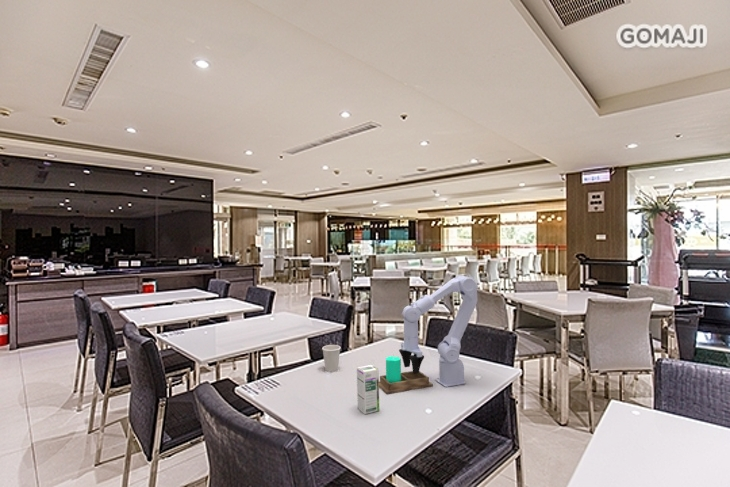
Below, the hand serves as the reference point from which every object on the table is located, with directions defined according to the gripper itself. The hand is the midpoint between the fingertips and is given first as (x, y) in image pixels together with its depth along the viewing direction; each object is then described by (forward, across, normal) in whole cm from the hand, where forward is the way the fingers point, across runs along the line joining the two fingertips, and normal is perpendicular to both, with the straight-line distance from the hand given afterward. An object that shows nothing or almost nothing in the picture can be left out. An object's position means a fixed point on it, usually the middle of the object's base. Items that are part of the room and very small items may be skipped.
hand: (411, 369), depth 149 cm
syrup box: (+6, +14, -24) cm, 29 cm away
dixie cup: (+6, -29, -25) cm, 39 cm away
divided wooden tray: (+6, 0, -3) cm, 7 cm away
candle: (+5, 0, -8) cm, 9 cm away
